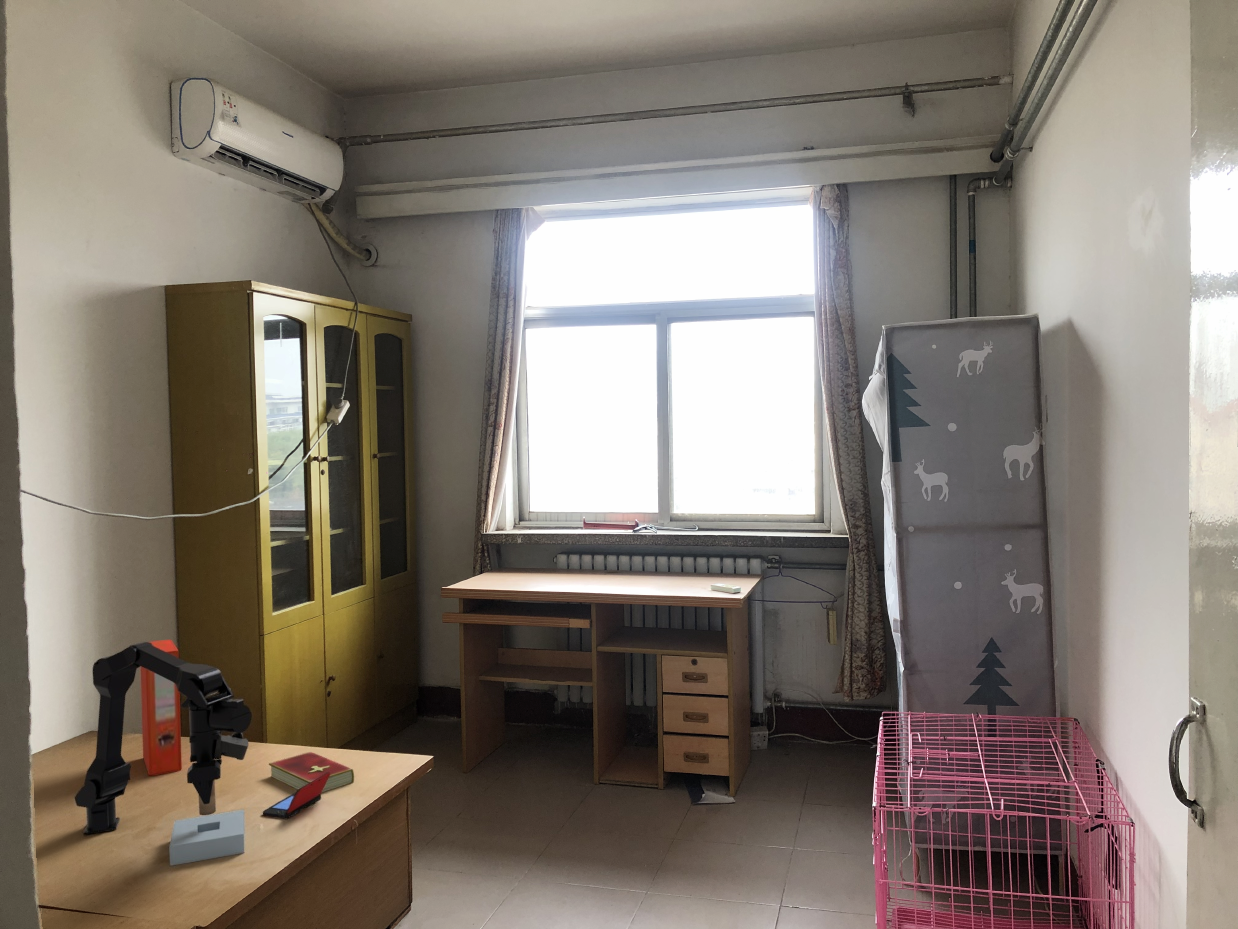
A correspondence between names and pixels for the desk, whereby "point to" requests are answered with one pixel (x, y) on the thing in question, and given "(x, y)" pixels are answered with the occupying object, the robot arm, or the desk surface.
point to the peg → (208, 808)
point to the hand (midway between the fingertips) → (207, 800)
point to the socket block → (207, 837)
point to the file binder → (161, 718)
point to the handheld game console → (298, 799)
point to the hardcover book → (310, 771)
